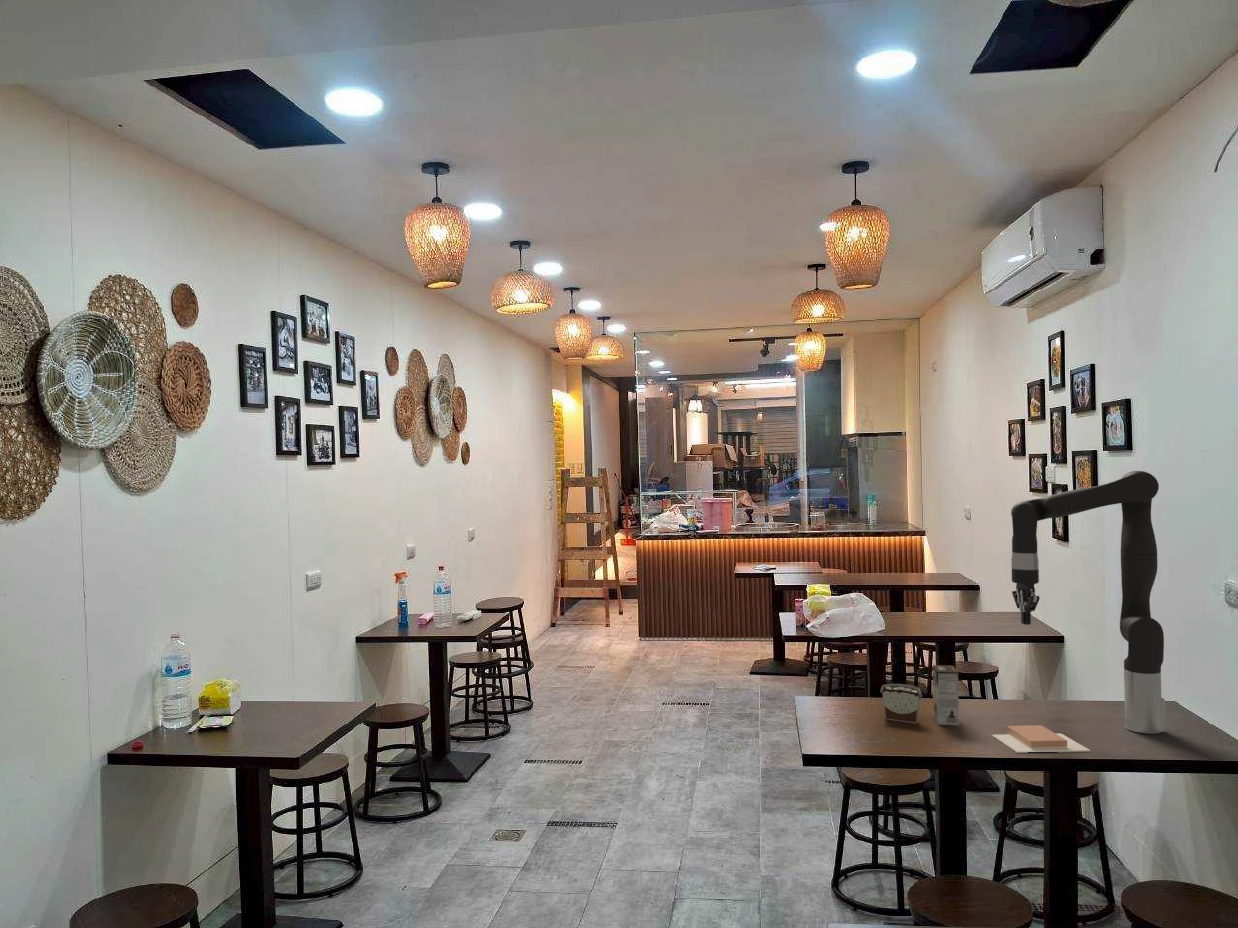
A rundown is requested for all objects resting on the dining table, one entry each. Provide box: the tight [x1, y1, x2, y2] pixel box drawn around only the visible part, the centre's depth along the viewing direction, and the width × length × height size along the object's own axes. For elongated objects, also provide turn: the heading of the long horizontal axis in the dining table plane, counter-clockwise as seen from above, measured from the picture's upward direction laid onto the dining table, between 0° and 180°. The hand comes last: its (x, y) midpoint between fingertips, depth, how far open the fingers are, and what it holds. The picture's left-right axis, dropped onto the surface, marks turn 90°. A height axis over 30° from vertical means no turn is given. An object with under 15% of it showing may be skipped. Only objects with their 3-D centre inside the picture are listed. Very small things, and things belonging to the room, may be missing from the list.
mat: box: [991, 733, 1092, 754], centre depth 238 cm, size 20×15×1 cm
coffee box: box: [932, 664, 960, 726], centre depth 261 cm, size 9×6×16 cm
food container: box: [879, 683, 923, 724], centre depth 264 cm, size 12×6×10 cm, turn 58°
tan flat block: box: [1006, 724, 1067, 748], centre depth 240 cm, size 10×2×14 cm
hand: (1026, 624), depth 261 cm, fingers closed
